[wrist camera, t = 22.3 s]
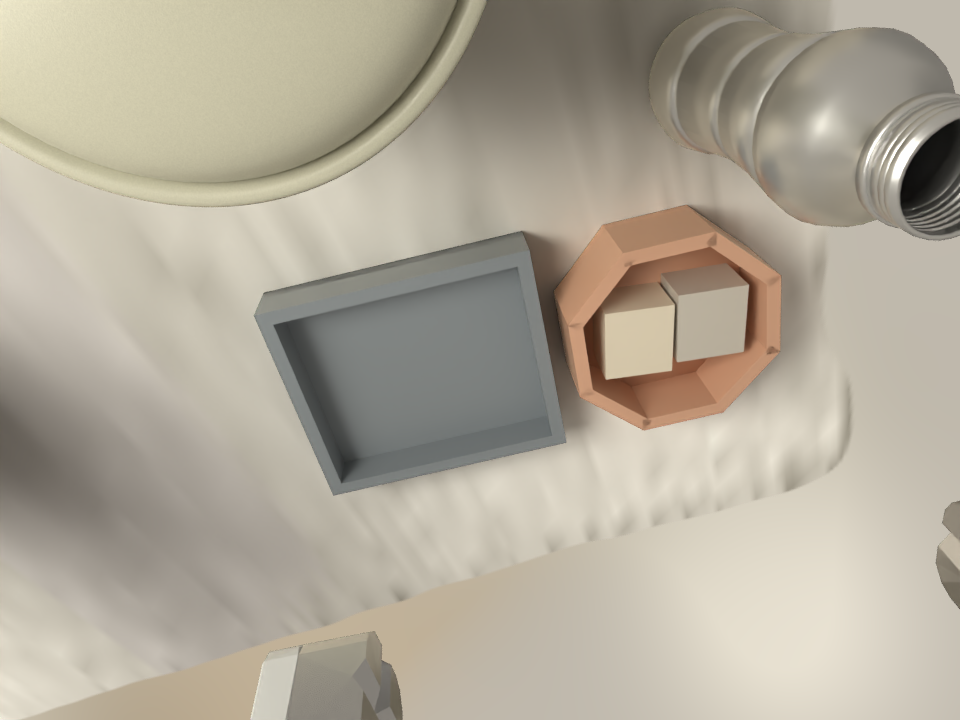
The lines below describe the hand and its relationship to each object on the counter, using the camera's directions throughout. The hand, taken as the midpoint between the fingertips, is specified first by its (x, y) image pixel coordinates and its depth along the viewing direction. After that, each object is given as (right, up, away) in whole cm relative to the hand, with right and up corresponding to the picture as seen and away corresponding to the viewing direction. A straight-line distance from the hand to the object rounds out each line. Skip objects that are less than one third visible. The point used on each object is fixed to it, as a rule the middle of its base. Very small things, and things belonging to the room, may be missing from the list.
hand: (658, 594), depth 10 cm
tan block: (+6, +6, +32) cm, 34 cm away
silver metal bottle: (+9, +19, +26) cm, 33 cm away
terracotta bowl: (+8, +7, +33) cm, 35 cm away
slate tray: (-6, +3, +34) cm, 34 cm away
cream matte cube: (+11, +7, +32) cm, 35 cm away
